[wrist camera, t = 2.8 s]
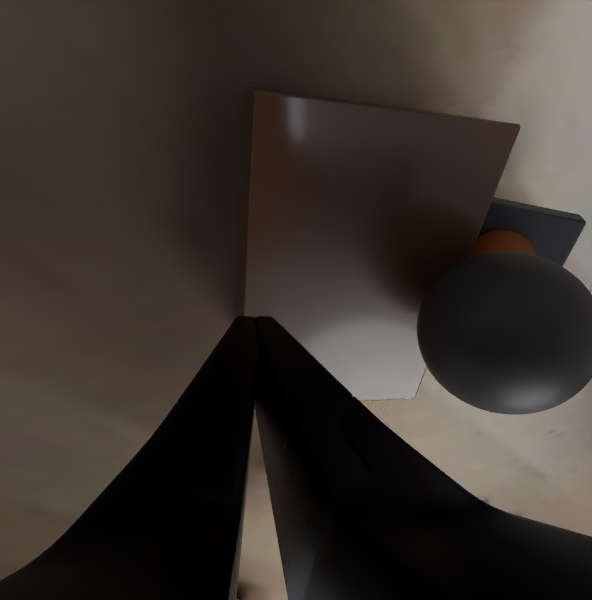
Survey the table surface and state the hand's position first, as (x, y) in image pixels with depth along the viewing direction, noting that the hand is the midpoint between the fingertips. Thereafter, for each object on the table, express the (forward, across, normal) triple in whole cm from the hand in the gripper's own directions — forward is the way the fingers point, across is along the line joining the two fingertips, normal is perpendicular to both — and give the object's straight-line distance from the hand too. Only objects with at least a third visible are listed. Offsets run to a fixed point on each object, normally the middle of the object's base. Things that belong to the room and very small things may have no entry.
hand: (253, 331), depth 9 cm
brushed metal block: (+7, -3, 0) cm, 8 cm away
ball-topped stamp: (+7, -9, 0) cm, 11 cm away
